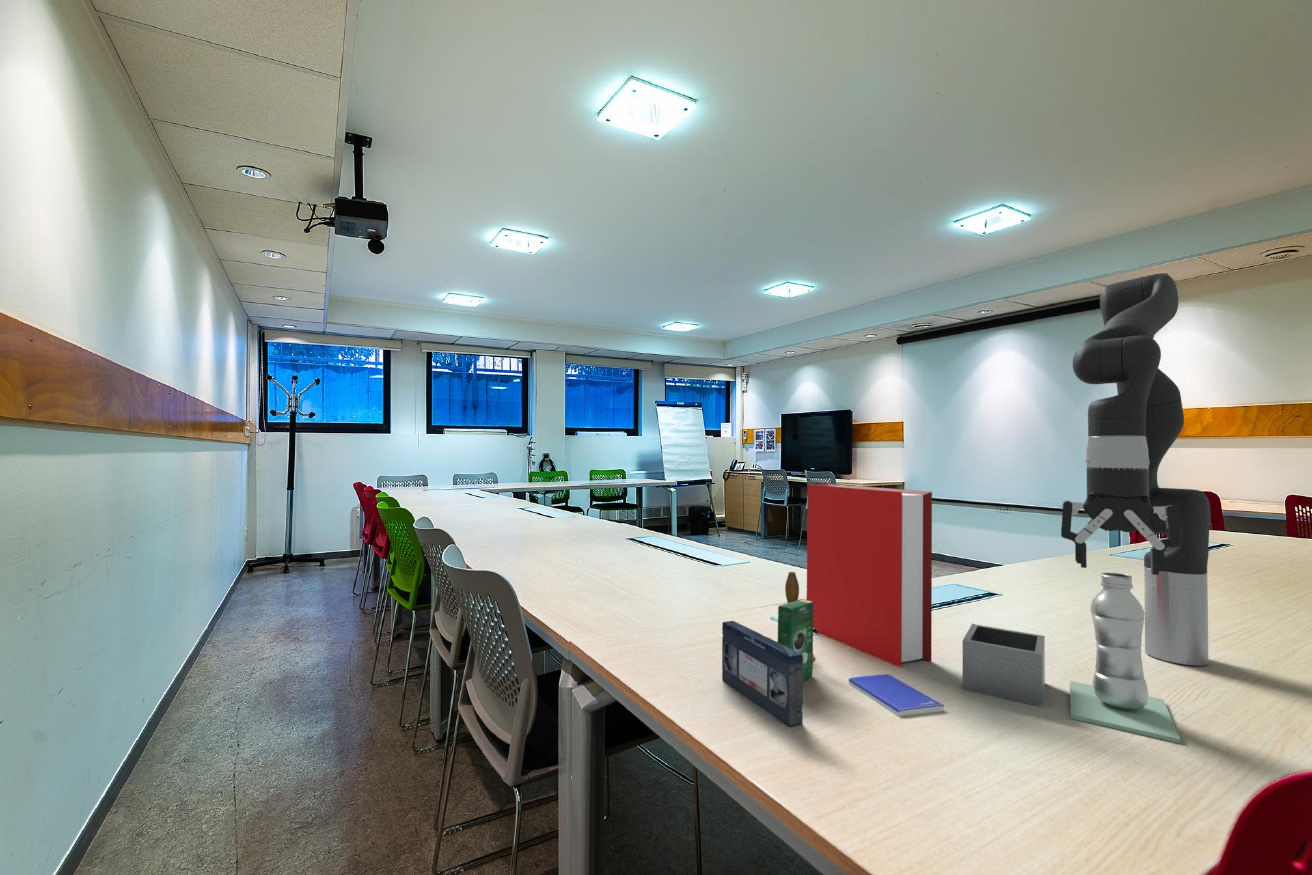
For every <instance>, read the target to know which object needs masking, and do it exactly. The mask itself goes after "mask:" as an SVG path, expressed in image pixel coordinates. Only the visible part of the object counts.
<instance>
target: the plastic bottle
mask: <svg viewBox="0 0 1312 875" xmlns="http://www.w3.org/2000/svg"><path fill="white" fill-rule="evenodd" d="M1100 575H1101V577H1100V578H1101V579H1100V580H1101V581H1100V586H1102V589H1101V590H1100V591H1099V592H1098V593H1097V594H1096V595H1095V596H1094V597H1093V599H1092V600H1091V603H1090V612H1091V617H1092V623H1093V627H1094V628H1093V629H1094V636H1095V640H1096V642H1095V644H1096V656H1095V668H1094V669H1095V670H1094V673H1093V679H1092V685H1093V688H1094V692H1095V694H1096V696H1097V697H1098V699H1099V700H1100V701H1102V702H1104V703H1106V704H1108V705H1111V706H1115V707H1119V708H1124V709H1132V710H1138V709H1142V708H1143V707H1144V706H1145V705H1146V704H1147V701H1148V697H1149V689H1148V685H1147V682H1146V679H1145V676H1144V675H1145V674H1144V667H1143V660H1142V649H1141V648H1142V636H1143V630H1144V629H1143V628H1144V625H1145V609H1144V607H1143V606H1142V604H1141V603H1140V601H1139V600H1138V599H1137V597H1136V596H1135V595H1134V594H1133V593H1132V591H1131V590H1132V589H1133V588H1134V585H1133V578H1132V575H1131V574H1130V575H1129V574H1125V573H1118V572H1117V573H1116V572H1102V573H1101V574H1100Z"/></svg>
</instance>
